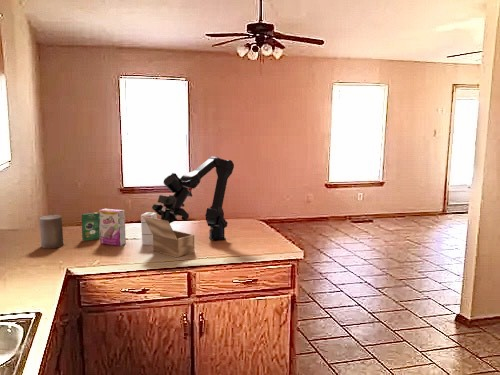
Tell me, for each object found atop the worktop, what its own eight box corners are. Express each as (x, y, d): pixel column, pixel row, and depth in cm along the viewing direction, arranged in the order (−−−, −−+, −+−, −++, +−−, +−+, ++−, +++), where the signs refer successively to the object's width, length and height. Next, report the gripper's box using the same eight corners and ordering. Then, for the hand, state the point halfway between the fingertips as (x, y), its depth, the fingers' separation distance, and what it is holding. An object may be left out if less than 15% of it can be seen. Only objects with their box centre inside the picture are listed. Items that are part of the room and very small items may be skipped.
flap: (143, 215, 214) (143, 216, 214) (168, 221, 204) (167, 221, 204) (152, 233, 219) (152, 234, 219) (177, 239, 209) (176, 239, 209)
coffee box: (98, 237, 243) (97, 211, 241) (100, 238, 241) (99, 212, 239) (82, 240, 238) (80, 213, 236) (84, 241, 236) (83, 214, 234)
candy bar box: (99, 244, 231) (98, 210, 229) (106, 241, 236) (104, 208, 233) (120, 246, 228) (118, 211, 225) (126, 243, 232) (125, 209, 230)
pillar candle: (68, 244, 231) (66, 213, 229) (51, 249, 222) (49, 216, 220) (52, 242, 235) (50, 211, 233) (36, 247, 226) (34, 215, 224)
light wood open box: (170, 246, 228) (169, 229, 227) (194, 252, 218) (194, 234, 217) (153, 250, 220) (152, 233, 219) (177, 257, 210) (177, 239, 209)
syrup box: (153, 245, 230) (152, 214, 228) (141, 244, 231) (140, 214, 229) (158, 242, 235) (157, 212, 233) (146, 241, 237) (145, 211, 234)
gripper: (154, 185, 219) (135, 214, 212) (183, 190, 207) (164, 220, 201) (168, 200, 226) (150, 228, 220) (197, 205, 215) (179, 235, 208)
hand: (160, 227), depth 212 cm, fingers closed, pressing on flap
